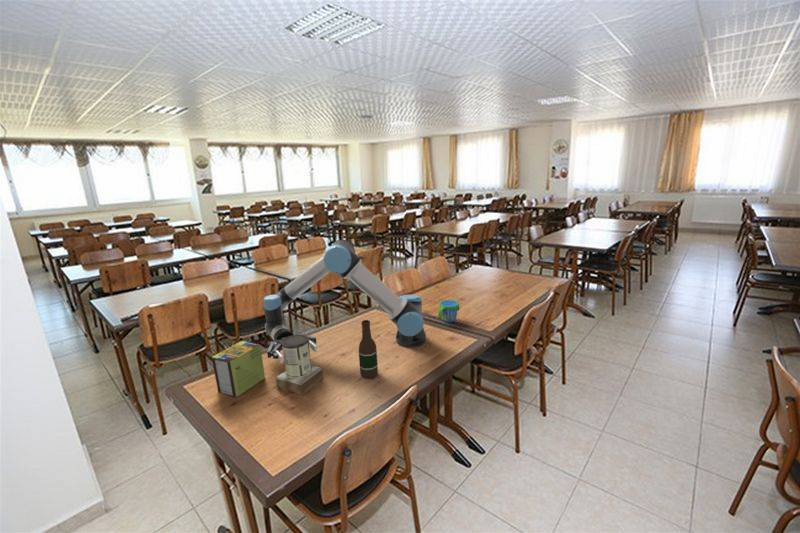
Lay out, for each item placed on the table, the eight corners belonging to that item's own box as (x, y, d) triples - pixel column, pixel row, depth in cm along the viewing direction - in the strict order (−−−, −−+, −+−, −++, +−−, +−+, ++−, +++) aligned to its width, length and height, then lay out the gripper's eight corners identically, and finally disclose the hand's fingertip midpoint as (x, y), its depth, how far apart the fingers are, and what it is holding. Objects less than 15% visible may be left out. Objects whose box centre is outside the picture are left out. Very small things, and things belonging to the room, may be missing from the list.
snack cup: (445, 327, 199) (445, 309, 196) (432, 321, 207) (431, 304, 204) (465, 319, 208) (466, 302, 205) (452, 314, 216) (452, 297, 213)
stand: (323, 378, 154) (322, 367, 153) (302, 395, 143) (301, 383, 142) (298, 372, 160) (297, 361, 159) (277, 388, 149) (275, 376, 148)
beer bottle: (381, 371, 158) (378, 318, 152) (374, 380, 151) (370, 326, 145) (364, 368, 160) (360, 316, 154) (356, 378, 153) (352, 324, 147)
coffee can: (291, 365, 156) (287, 334, 152) (315, 365, 155) (311, 334, 151) (281, 378, 146) (276, 345, 143) (306, 379, 145) (302, 345, 141)
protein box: (265, 377, 157) (260, 344, 153) (236, 397, 144) (229, 361, 140) (247, 373, 161) (242, 340, 157) (217, 392, 148) (210, 356, 144)
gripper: (310, 336, 170) (329, 353, 153) (254, 352, 157) (268, 373, 140) (308, 321, 169) (328, 336, 151) (251, 336, 155) (265, 355, 138)
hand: (299, 354), depth 146 cm, fingers open, 13 cm apart
